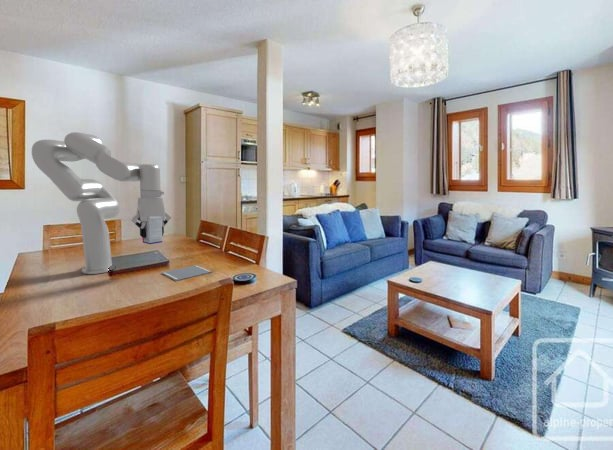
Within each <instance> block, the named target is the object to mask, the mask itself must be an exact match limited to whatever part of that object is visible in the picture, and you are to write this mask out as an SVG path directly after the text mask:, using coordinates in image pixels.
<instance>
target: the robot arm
mask: <svg viewBox="0 0 613 450" xmlns="http://www.w3.org/2000/svg"><path fill="white" fill-rule="evenodd" d="M31 158H32V159H33V162H34V164H35V165H36V167H37V168H38V169H39V170H40V172H42V173H43V174H44V175H45V176H46V177H47V178H49V180H50V181H51V182H52V183H53V184H54V185H55V186H56V187H57V188H58V190H60V191H61V192H62V194H63V195H64V196H65V197H66V198H67V199H68V200H70V201H72V202H78V204H77V207H76V214H77V217H78V219H79V223H80V228H81V236H82V243H83V244H82V245H83V253H84V255H83V256H84V262H85V263H84V264H85V267H83V268H82V269H81V273H82V274H86V275H98V274H103V273H104V274H105V273H109V272H110V271H109V269H108V268H109V267H110V266H112V264H113V262H112V254H111V253H112V251H111V241H110V232H109V227H108V225H107V223H106V221H105V220H107V219H112V218H115V217H117V216H118V215H119V213H120V211H121V207H120V204H119V201H118V200H117V199H116V198H115V197H114V196H113V195H112V193H111V192H110V191H109V190H108V188H106V187H105V186H104V185H103V184H102V183H101V182H100V181H98V180H95V179H92V178H91V179H89V178H81V177H79V175H77V174H76V173H75V172H74V171H73V169H72V168H71V167H69V166H68V165H66V164H64V163H63V162H71V163H72V162H78V161H81V160H87V161H89V162H91V163H93V164H94V165H95V166H96V168H97V169H98V171H100V172H101V173H103V174H104V175H106V176H107V177H110V178H111V179H114V180H115V181H118V182H139V188H140V191H139V193H140V197H138V198H137V204H136V214H135V215H134V216H132V218H131V219H130V221H131V222H132V223H133V224H134V225H136V227H138V228H139V235H140V237H141V238H142V239H143V238H146V229H145V228H144V226H145V224H146V222H147V221H148V217H158V216H162V237H163V236H164V234H165V231H164V230H165V229H164V228H165V227H166V225H167V223H168V222H169V221H170V220H171V217H172V216H170V215H169V214H168V213H167V212H166V210H165V209H166V208H165V204H164V200H163V197H162V195H164V194H165V192H164V191H162V189H161V168H160V166H159V165H158V164H151V163H143V164H142V163H136V162H135V163H134V162H124V161H120V160H118V159H116V158H115V157H114V156H112V151H111V149H110V148H109V147H108V146H106V145H105V144H103V141H102V139H100V138H99V137H98V136H97V135H94V134H88V133H84V132H76V131H75V132H74V131H73V132H70V133H68V134H66V136H64V139H63V140H56V139H40V140H37V141H35V142H34V143H33V144H32V147H31ZM138 221H140V222H138ZM108 271H109V272H108Z"/></svg>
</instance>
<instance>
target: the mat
mask: <svg viewBox="0 0 613 450" xmlns="http://www.w3.org/2000/svg"><path fill="white" fill-rule="evenodd" d="M211 273H213V271H212V270H208V269H207V268H205V267H202V266H200V265H197V264H196V265H192V266H187V267H186V266H185V267H181V268H176V269H172V270H169V271H168V270H167V271H163V272H161V275H163V276H165V277H166V278H169V279H171V280H173V281H175V282H179V281H183V280H187V279H190V278H194V277H200V276H203V275H207V274H211Z"/></svg>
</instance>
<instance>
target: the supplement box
mask: <svg viewBox="0 0 613 450" xmlns="http://www.w3.org/2000/svg"><path fill="white" fill-rule="evenodd" d="M144 228H145V229H146V238H142V243H143V244H147V245H155V244H160V243H163V236H162V216H158V217H148V221H147V222H146V224H145V226H144Z"/></svg>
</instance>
